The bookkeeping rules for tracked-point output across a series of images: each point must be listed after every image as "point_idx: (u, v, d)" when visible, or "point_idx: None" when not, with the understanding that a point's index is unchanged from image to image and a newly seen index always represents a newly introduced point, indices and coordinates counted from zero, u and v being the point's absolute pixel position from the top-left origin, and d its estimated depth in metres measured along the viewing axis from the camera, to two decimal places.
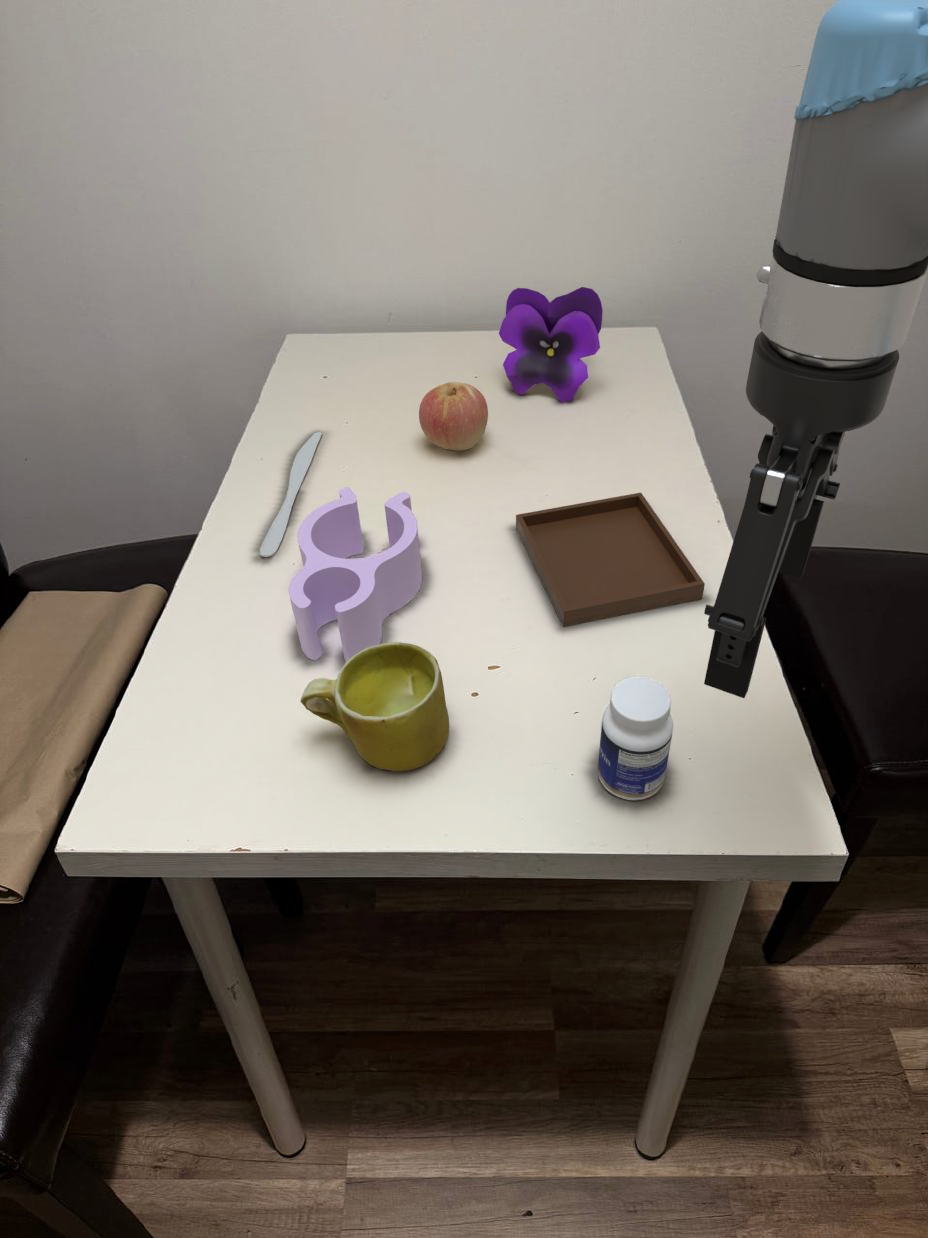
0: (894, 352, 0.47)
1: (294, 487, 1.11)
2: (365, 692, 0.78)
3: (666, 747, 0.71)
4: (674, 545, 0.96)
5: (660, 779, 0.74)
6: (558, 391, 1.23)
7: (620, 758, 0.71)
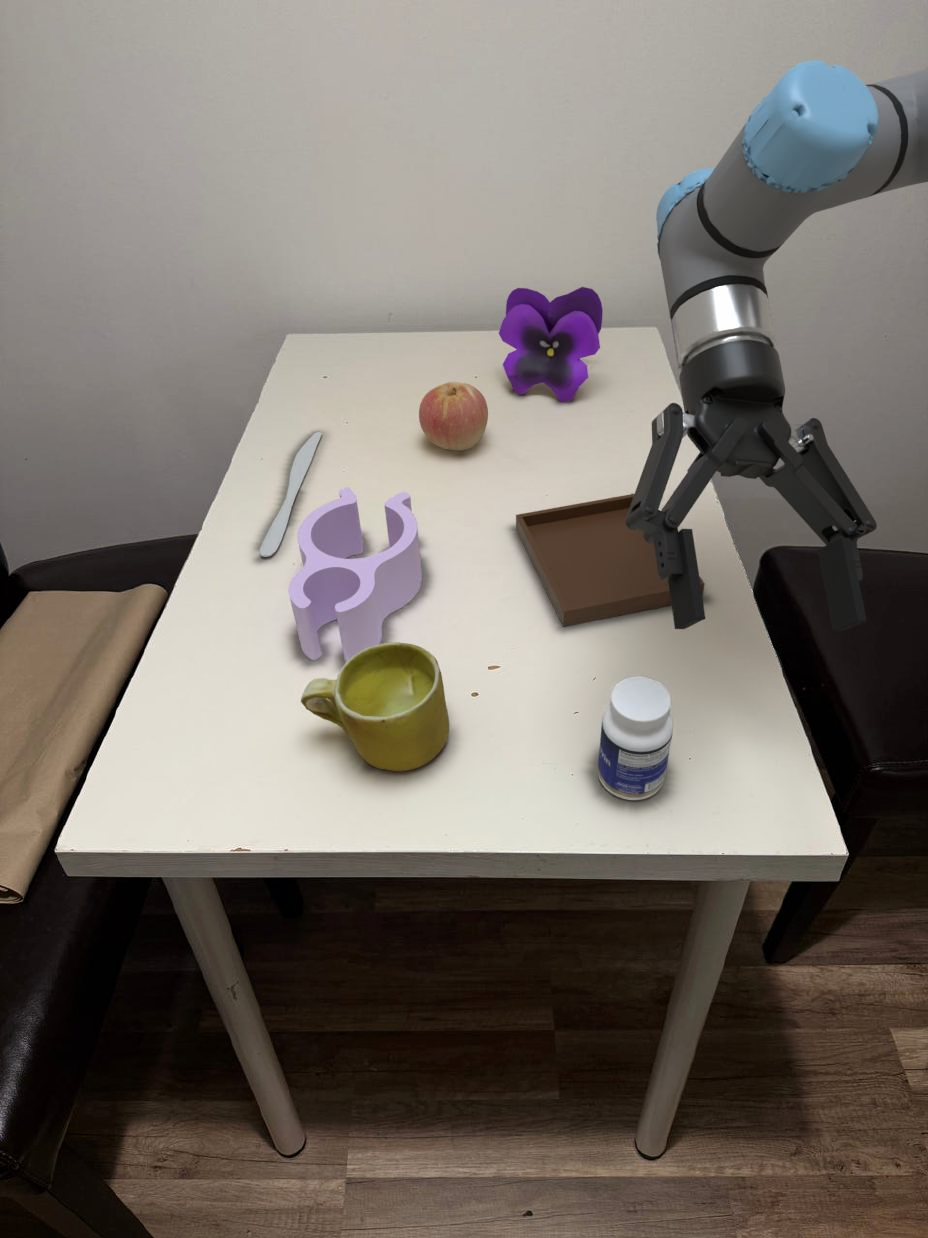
0: (759, 341, 0.66)
1: (294, 487, 1.11)
2: (365, 692, 0.78)
3: (666, 747, 0.71)
4: None
5: (660, 779, 0.74)
6: (558, 391, 1.23)
7: (620, 758, 0.71)
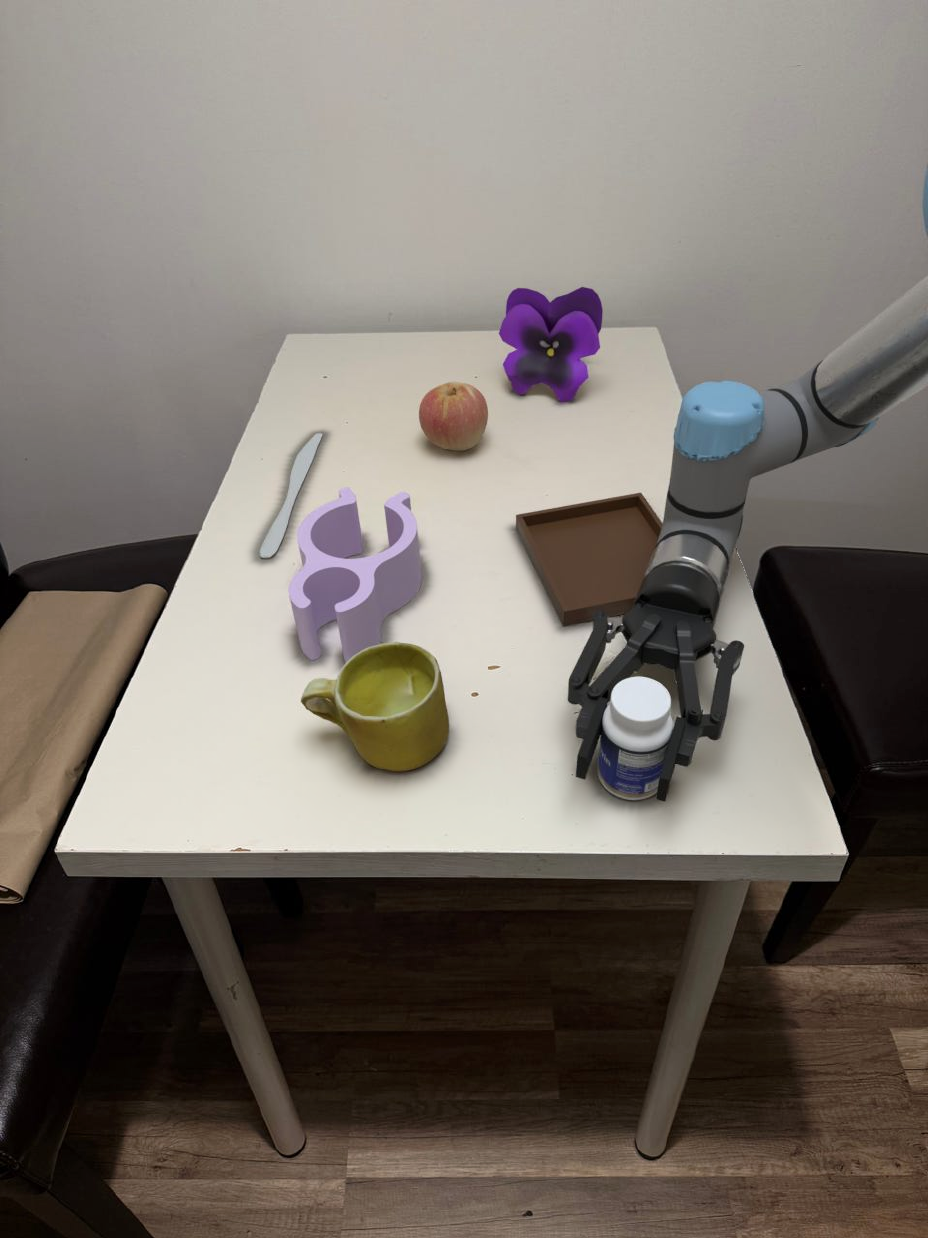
0: None
1: (295, 488, 1.11)
2: (365, 692, 0.78)
3: (666, 747, 0.71)
4: None
5: None
6: (558, 391, 1.23)
7: (620, 758, 0.71)
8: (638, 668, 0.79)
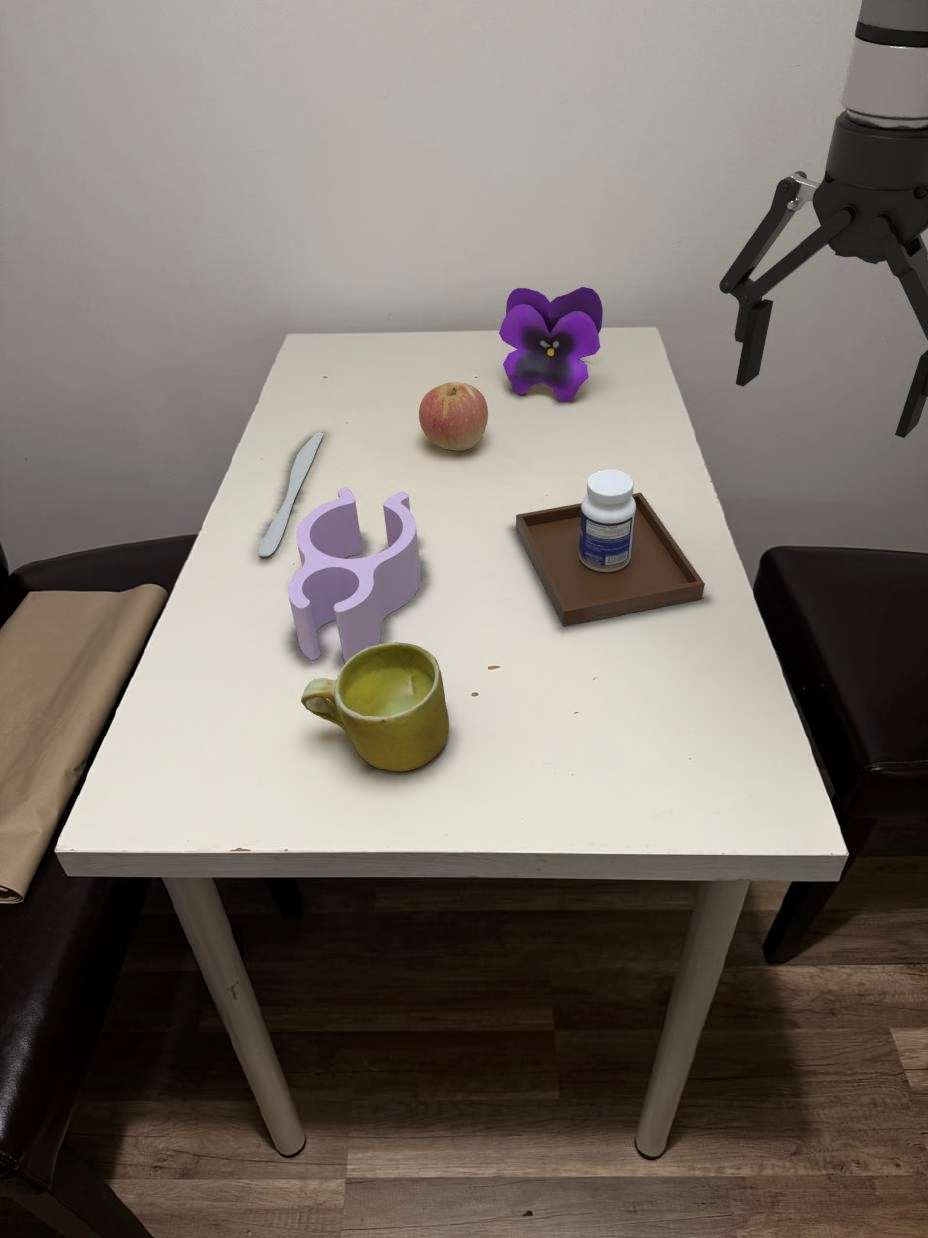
0: (881, 130, 0.57)
1: (295, 487, 1.10)
2: (365, 692, 0.78)
3: (623, 526, 0.92)
4: (674, 545, 0.96)
5: (620, 557, 0.94)
6: (558, 391, 1.23)
7: (587, 528, 0.93)
8: None
